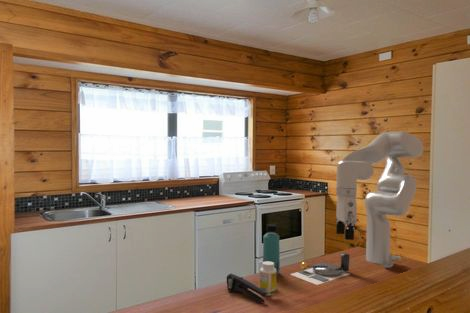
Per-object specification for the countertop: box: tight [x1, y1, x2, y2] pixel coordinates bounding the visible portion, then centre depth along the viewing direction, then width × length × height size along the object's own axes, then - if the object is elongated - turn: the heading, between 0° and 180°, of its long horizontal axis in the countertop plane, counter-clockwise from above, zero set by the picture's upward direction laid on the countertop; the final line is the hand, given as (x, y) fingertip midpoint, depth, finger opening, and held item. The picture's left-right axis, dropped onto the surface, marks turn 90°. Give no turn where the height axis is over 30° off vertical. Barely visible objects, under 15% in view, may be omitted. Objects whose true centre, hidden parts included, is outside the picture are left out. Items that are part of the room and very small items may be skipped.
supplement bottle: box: [259, 261, 277, 297], centre depth 118 cm, size 6×6×10 cm
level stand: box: [289, 267, 351, 286], centre depth 133 cm, size 20×13×2 cm, turn 127°
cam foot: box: [300, 252, 350, 276], centre depth 136 cm, size 19×11×7 cm, turn 92°
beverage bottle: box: [262, 223, 281, 276], centre depth 133 cm, size 6×7×20 cm
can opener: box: [226, 273, 266, 303], centre depth 116 cm, size 18×7×6 cm, turn 39°
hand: (344, 236), depth 135 cm, fingers open, 9 cm apart
